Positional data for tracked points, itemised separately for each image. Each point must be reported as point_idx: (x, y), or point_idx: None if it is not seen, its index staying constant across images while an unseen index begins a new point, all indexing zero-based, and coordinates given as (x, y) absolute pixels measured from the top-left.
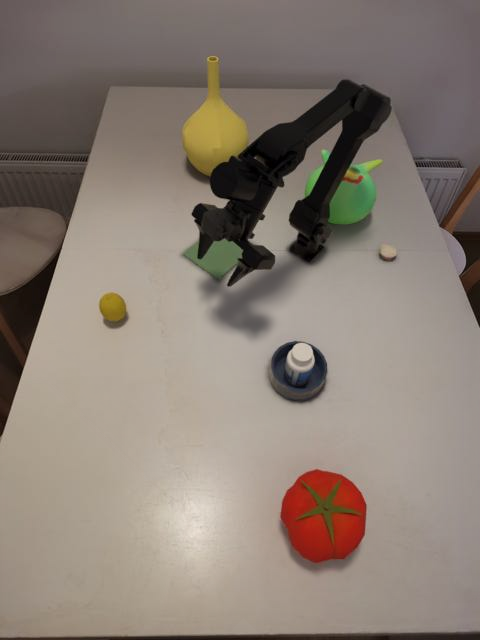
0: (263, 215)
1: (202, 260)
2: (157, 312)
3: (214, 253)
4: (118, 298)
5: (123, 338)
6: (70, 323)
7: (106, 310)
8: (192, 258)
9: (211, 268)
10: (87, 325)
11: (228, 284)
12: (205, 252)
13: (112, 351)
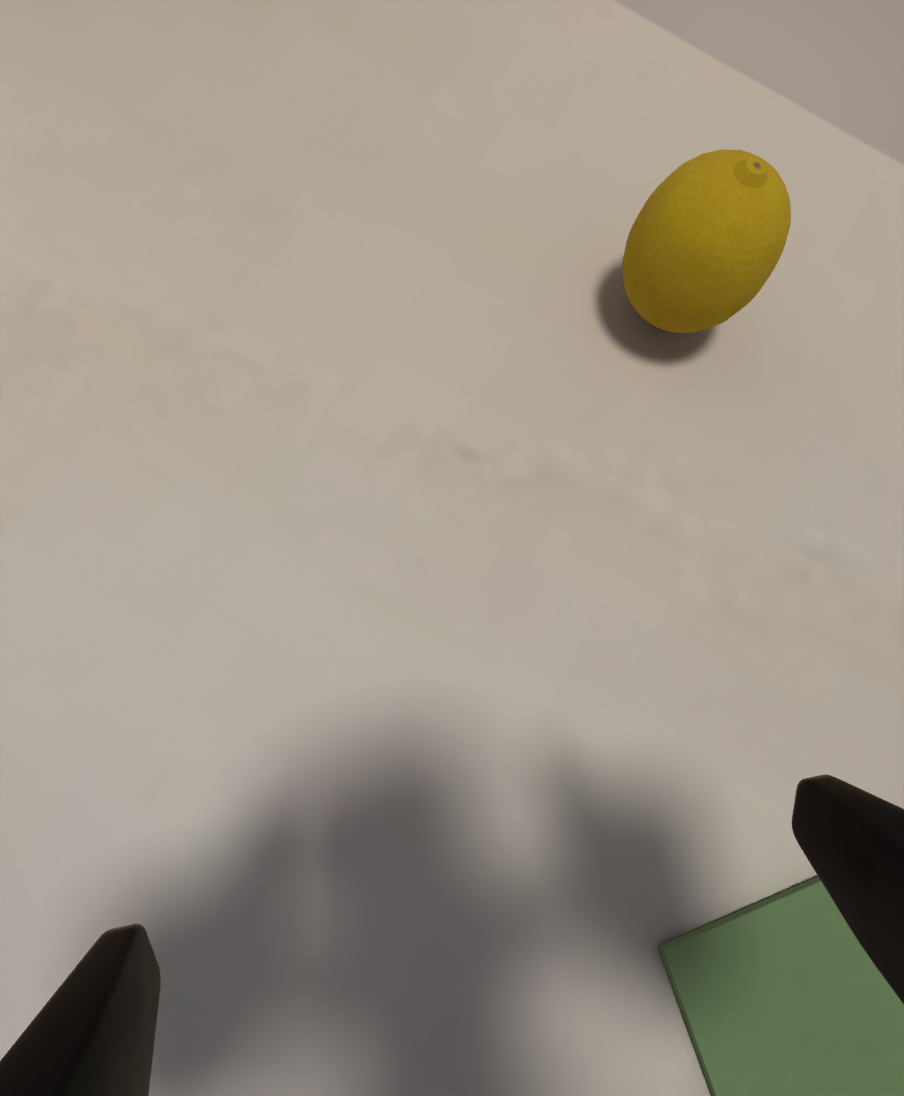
0: None
1: None
2: (596, 487)
3: (889, 1046)
4: (726, 231)
5: (529, 288)
6: None
7: (677, 169)
8: None
9: (767, 948)
10: None
11: (92, 960)
12: (877, 941)
13: (487, 224)
